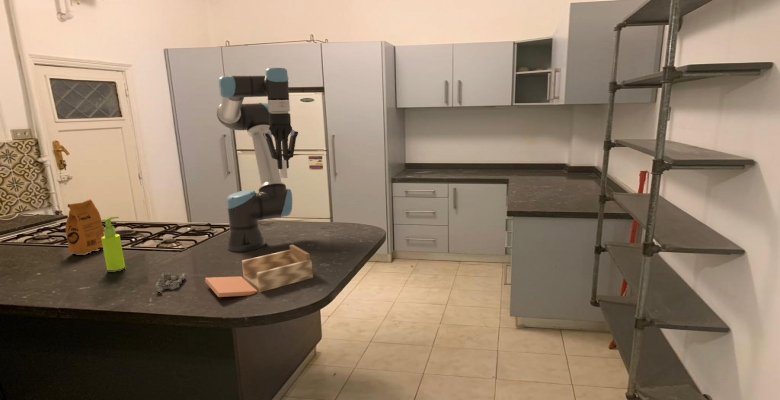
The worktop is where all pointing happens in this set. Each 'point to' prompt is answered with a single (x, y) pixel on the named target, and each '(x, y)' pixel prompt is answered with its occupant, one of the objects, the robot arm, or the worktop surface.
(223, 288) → the panel
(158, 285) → the egg carton
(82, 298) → the worktop surface
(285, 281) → the wooden open box
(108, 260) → the soap dispenser
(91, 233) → the coffee package
